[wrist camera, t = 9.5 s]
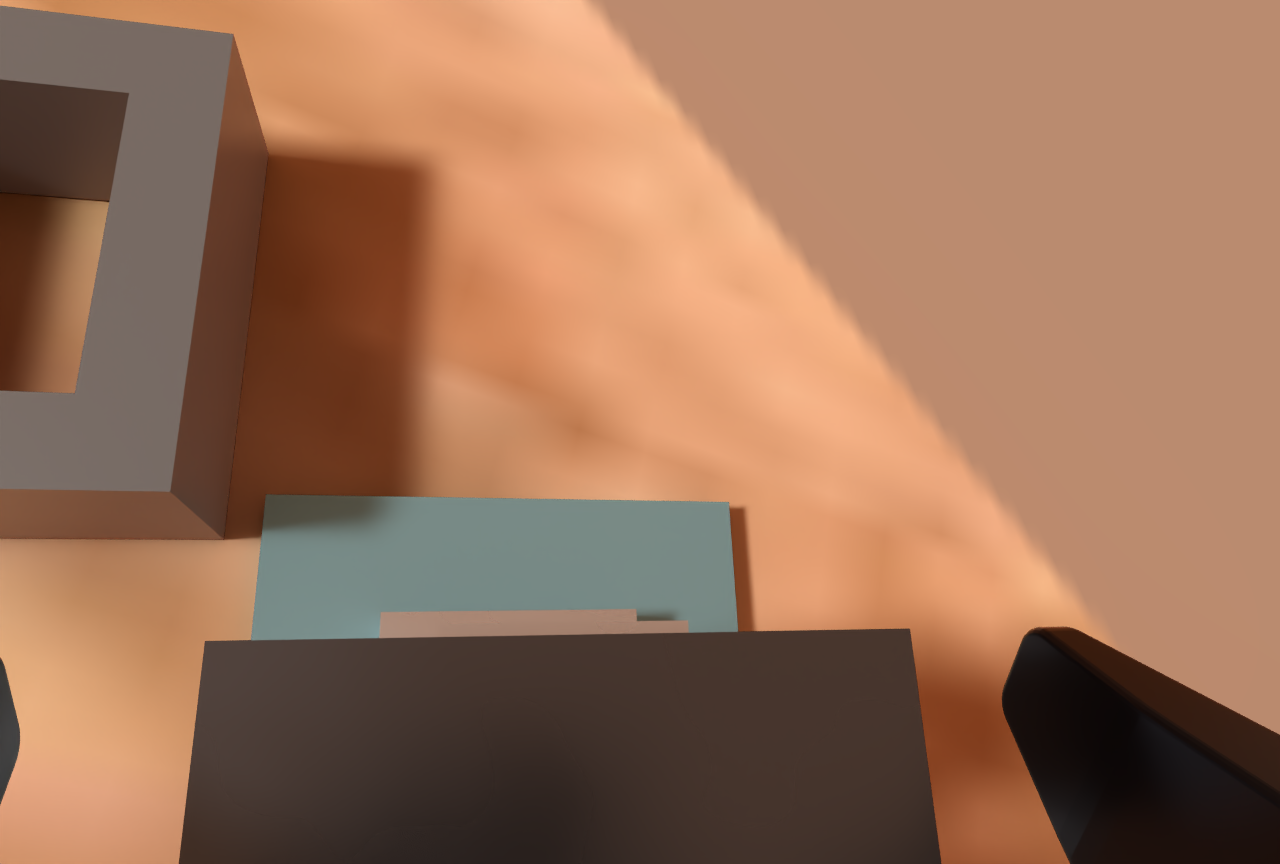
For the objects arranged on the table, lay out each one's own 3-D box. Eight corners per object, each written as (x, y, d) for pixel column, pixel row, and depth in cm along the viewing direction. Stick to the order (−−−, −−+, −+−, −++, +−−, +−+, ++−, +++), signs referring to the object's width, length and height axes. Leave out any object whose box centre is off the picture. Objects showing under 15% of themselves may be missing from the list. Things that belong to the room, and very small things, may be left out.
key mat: (754, 994, 16) (764, 1002, 15) (215, 1055, 14) (207, 1067, 13) (721, 507, 19) (728, 501, 18) (271, 501, 17) (265, 494, 16)
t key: (674, 870, 16) (964, 1041, 7) (321, 898, 14) (144, 1147, 6) (663, 615, 17) (892, 497, 8) (341, 619, 16) (222, 485, 7)
